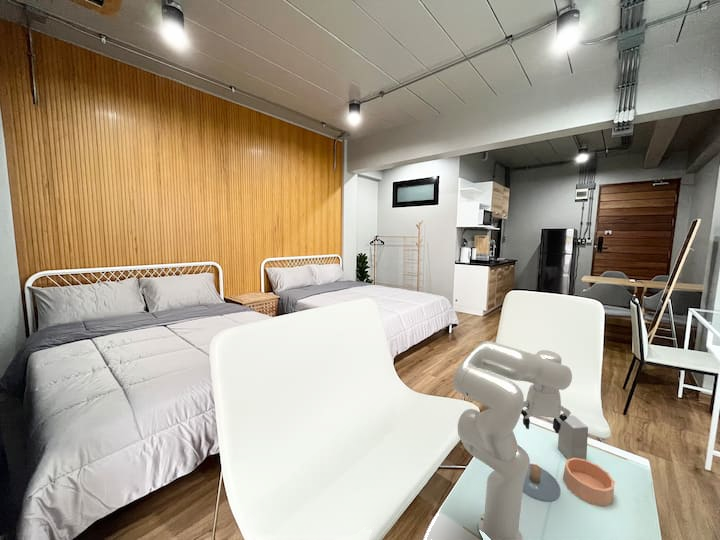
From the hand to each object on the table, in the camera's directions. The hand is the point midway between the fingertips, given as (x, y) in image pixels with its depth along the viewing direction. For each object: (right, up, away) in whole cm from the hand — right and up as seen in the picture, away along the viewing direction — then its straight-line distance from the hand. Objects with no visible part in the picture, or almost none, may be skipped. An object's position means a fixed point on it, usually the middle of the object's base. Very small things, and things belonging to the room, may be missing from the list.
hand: (540, 428), depth 106 cm
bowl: (+17, -22, 0) cm, 28 cm away
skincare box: (+22, -20, +16) cm, 34 cm away
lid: (-1, -22, +3) cm, 22 cm away
